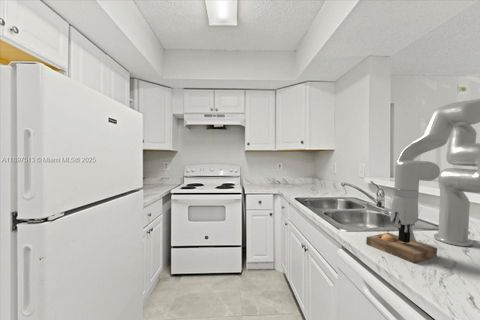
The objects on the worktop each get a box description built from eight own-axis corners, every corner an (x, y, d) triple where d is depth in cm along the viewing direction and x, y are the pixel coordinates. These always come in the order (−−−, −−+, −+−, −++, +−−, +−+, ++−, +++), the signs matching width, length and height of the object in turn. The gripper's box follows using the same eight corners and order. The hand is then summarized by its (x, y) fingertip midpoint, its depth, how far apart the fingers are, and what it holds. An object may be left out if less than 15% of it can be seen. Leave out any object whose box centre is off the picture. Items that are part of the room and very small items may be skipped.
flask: (397, 236, 106) (398, 214, 106) (417, 240, 102) (418, 217, 101) (395, 241, 101) (396, 218, 100) (416, 245, 96) (417, 221, 96)
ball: (385, 243, 98) (396, 247, 94) (378, 243, 97) (388, 247, 93) (386, 233, 98) (396, 236, 94) (378, 233, 97) (388, 236, 93)
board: (388, 239, 102) (388, 232, 102) (436, 256, 86) (437, 248, 86) (366, 244, 97) (366, 236, 96) (413, 263, 80) (414, 254, 80)
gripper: (407, 191, 96) (405, 235, 96) (383, 193, 89) (381, 240, 90) (428, 194, 89) (426, 242, 90) (404, 196, 83) (402, 248, 83)
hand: (404, 241), depth 90 cm, fingers closed
